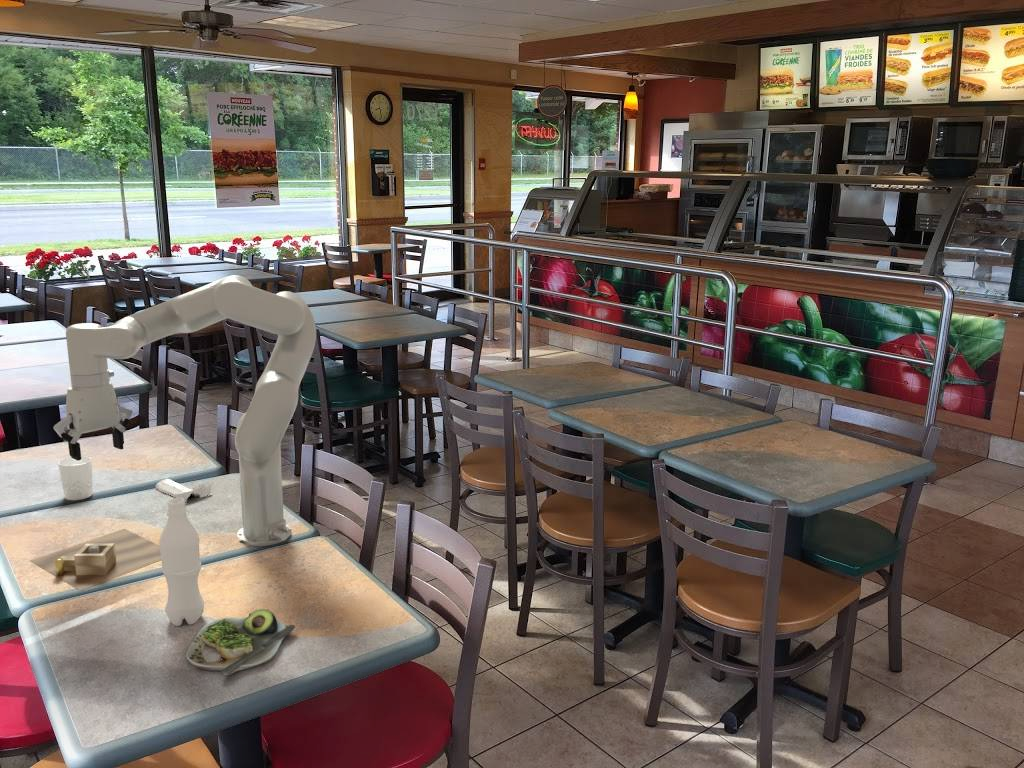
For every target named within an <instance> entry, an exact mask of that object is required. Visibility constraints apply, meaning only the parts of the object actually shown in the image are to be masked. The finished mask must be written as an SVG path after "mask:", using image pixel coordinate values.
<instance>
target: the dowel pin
mask: <svg viewBox="0 0 1024 768" xmlns="http://www.w3.org/2000/svg"><path fill="white" fill-rule="evenodd" d="M55 568H56V576H63V575H64V574H65V571H64V563H63V558H57V559H55ZM56 576H55V577H56Z"/></svg>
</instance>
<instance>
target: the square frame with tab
mask: <svg viewBox="0 0 1024 768" xmlns="http://www.w3.org/2000/svg"><path fill="white" fill-rule="evenodd" d="M91 546H99V554H89V549H88V548H89V547H91ZM61 558H63V563H64V571H76V575H106V573H107V572H108V571H109V570H110V569H111V568H112V567H113V566H114V564H115V563H116V554H115V544H114V543H110V544H85V545H84V546H83V547H82V548H81V549H80V550H79V551H78V552H77V553H76V554H75V555H74V556H62V557H61Z"/></svg>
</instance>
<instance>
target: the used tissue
mask: <svg viewBox="0 0 1024 768" xmlns="http://www.w3.org/2000/svg"><path fill="white" fill-rule="evenodd" d="M211 486H212V485H208V486H207V487H205V484H204V483H202V484H200V485H198V486H194V487H192V489H191V488H188V487H186V486H185V485H182V484H181V483H178V482H175V481H174V480H172V479H170V478H165V479H162V480H160V481H159V482H157V483H156V484H155V489H156V490H158V492H160V493H163V492H164V493H163V494H165V493H166V495H168V494H169V495H168V496H170V495H171V497H172V496H173V497H172V498H175V497H176V498H183V499H184V501H185V502H186V503H185V506H187V505H188V503H187V502H188V498H189V497H190V496H193V495H194V496H193V497H195V496H196V497H199V498H202V499H200V500H201V501H202V500H203V497H209V496H211V494H212V493H213V491H212V487H211ZM191 494H192V495H191ZM207 495H208V496H207Z"/></svg>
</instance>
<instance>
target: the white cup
mask: <svg viewBox="0 0 1024 768" xmlns="http://www.w3.org/2000/svg"><path fill="white" fill-rule="evenodd" d="M57 462H58V463H57V465H58V471H59V476H60V477H59V478H60V482H61V487H62V490H63V495H64V499H65V500H68V501H80V500H86V499H87V498H90V497H91V496H93V493H94V491H93V489H94V488H93V484H94V483H93V464H92V457H90V456H87V455H81V460H79V461H78V460H75V459H73V458H72V457H71V456H69V457H65V458H63V459H60V460H58V461H57Z"/></svg>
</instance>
